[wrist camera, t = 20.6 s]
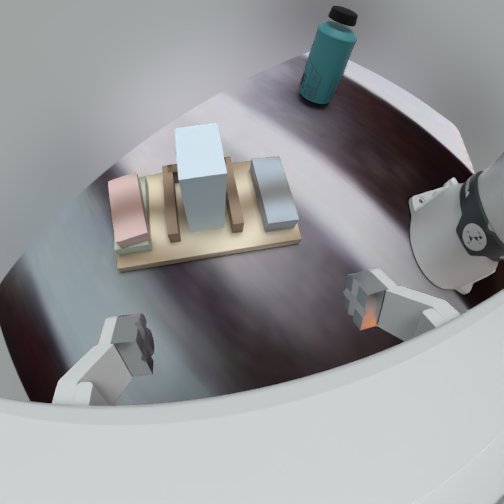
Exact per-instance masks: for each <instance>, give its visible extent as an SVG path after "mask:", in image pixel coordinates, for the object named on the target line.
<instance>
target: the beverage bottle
mask: <svg viewBox="0 0 504 504" xmlns="http://www.w3.org/2000/svg"><path fill="white" fill-rule="evenodd" d="M357 16H358V15H357V14H356V13H355V12H353V11H351V10H349V9H347V8H344V7H340V6H333V7H332V9H331V11H330V13H329V17H330V18H331V19H333V20H334V21H336V22H333V21H328V22H324V23H321V24H319V25H318V28H317V32H316V36H315V39H314V42H313V45H312V48H311V51H310V55H309V58H308V61H307V64H306V68H304V69H305V71H303V72H304V74H303V77H302V79H301V82H300V83H301V84H300V88H299V89H300V93H301V94H302V96H303V97H305V98H306V99H307V100H309V101H311V102H314V103H318V104H326V103H329V102H330V101H331V100H332V99H333V96H334V94H335V92H336V89H337V87H338V84H339V82H340V80H341V77H343V76H342V75H344V74H343V73H344V70H345V67H346V65H347V62H348V60H349V57H350V55H351V52H352V50H353V47H354V45H355V43H356V41H357V37H356V35H355V34H354V32H353V31H352V30H351V29H350V28H348V27H347V26H345V25H348V26H355V24H356V20H357ZM337 22H338V23H337ZM343 24H344V25H343Z"/></svg>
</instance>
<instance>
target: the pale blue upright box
mask: <svg viewBox="0 0 504 504" xmlns="http://www.w3.org/2000/svg"><path fill="white" fill-rule="evenodd" d="M175 141H176V156H177V169H178V180H179V185H180V190H181V194H182V199H183V203H184V208H185V212H186V217H187V221H188V225H189V230H190V233H192V232H198V231H204V230H211V229H217V228H224V220H225V202H226V185H227V170H226V165H225V160H224V155H223V150H222V144H221V139H220V134H219V129H218V124H217V123H214V124H205V125H197V126H189V127H182V128H176V129H175Z"/></svg>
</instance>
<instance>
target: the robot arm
mask: <svg viewBox="0 0 504 504" xmlns="http://www.w3.org/2000/svg"><path fill="white" fill-rule="evenodd" d="M409 208H410V212H411V224H410V240H411V245H412V249H413V253H414V256H415V258H416V260H417V263H418V265H419V266H420V268H421V270H422V271H423V273H424V274H425V275H426V277H427V278H428V279H429V280H430V281H431V282H432V283H434V284H435V285H436V286H438V287H440V288H443V289H455V290H457V291H458V292H460V293H461V294H464V295H465V294H467V293H469V292H470V291H471V288H472V286H473V283H474V282H476V281H479V280H481V279H483V278H485V277H487V276H489V275H490V274H492V273H494V272H495V271H496V267H497V265H498V261H501V260H503V259H504V153H503V154H502V155H501V156H500V157H499V158H498V159H497V160H496V161H495V162H494V163H493V164H492V165H491V166H489V167H488V168H487V169H486V170H485V171H480V172H478V173H476V174H474V175H472V176H471V177H470V178H469V179H468V180H467V181H466V182H465V183H461V184H458V182H457V180H456V179H455V178H452V179H450V180H449V181H448V182H446V183H445V184H444V185H443V187H441V188H438V189H435V190H432V191H428V192H425V193H422V194H419V195H415V196H413V197H412V198H410V199H409ZM344 285H345V286H346V289H345V290H344V292H343V296H342V301H343V306H344V308H345V310H346V312H347V313H348V314H350V315H352V316H354V317H353V321H354V323H355V324H356V325H357V327H358V328H359V329H360V330H363V329H367V328H370V327H373V326H378V327H380V328H381V329H383V330H385V331H387V332H389V333H391V334H392V335H394V336H396V337H398V338H400V339H401V340H403V341H405V342H403V343H401V344H398V345H396V346H394V347H391V348H389V349H386V350H384V351H381V352H379V353H376V354H373V355H371V356H368V357H365V358H363V359H360V360H357V361H354V362H351V363H348V364H345V365H342V366H339V367H336V368H333V369H330V370H327V371H323V372H320V373H317V374H313V375H310V376H306V377H303V378H299V379H295V380H292V381H288V382H284V383H280V384H276V385H271V386H267V387H262V388H258V389H253V390H248V391H243V392H238V393H233V394H227V395H221V396H215V397H209V398H202V399H194V400H186V401H177V402H168V403H156V404H141V405H117V406H114V405H115V404H116V402H117V401H118V399H119V397H120V396H121V394H122V393H123V391H124V390H125V388H126V387H127V386H128V384H129V383H130V381H131V380H132V378H133V376H142V375H150V374H153V359H152V357H151V356H152V354H153V353H154V341H153V337H152V334H151V331H150V330H149V329H148V328H147V327H146V322H147V321H146V319H145V317H144V315H143V314H142V313H140V314H131V315H122V316H114V317H108V318H106V320H105V323H104V326H103V330H102V333H101V336H100V340H99V343H98V345H97V346H94V347H93V348H92V349H91V350H90V351H89V352H88V353H87V354H86V355H84V356H83V357H82V358H81V359H80V360H79V361H78V362H77V363H76V364H75V365H74V366H73V367H72V368H71V369H70V370H69V371H68V372H67V373H66V374H65V375H64V376H63V377H62V378H61V379H60V380H59V381H58V384H57V387H56V391H55V394H54V398H53V401H52V404H50V403H39V402H30V401H22V400H15V399H9V398H3V397H0V504H504V289H503V290H501V291H499V292H498V293H496V294H495V295H493V296H492V297H490V298H489V299H487V300H485V301H484V302H482V303H480V304H479V305H477V306H475V307H473V308H472V309H470V310H468V311H466V312H464V313H463V314H460V313H459V312H457V311H456V310H455V309H454V308H453V307H452V306H451V305H450V304H449V303H448V302H447V301H445V300H443V299H440V298H437V297H434V296H431V295H428V294H425V293H422V292H419V291H416V290H413V289H410V288H407V287H404V286H397V285H396V284H395V283H394V282H393V281H392V280H391V279H390V278H389V277H388V276H387V275H386V274H384V273H383V272H382V271H381V270H380V269H379V268H372V269H369V270H366V271H363V272H359V273H354V274H350V275H346V277H345V279H344Z"/></svg>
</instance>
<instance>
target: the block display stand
mask: <svg viewBox="0 0 504 504" xmlns="http://www.w3.org/2000/svg"><path fill="white" fill-rule="evenodd" d="M224 160H225V165H226V170H227V185H226V202H225V220H224V228H217V229H211V230H204V231H198V232H192V233H190V230H189V225H188V221H187V217H186V212H185V208H184V203H183V199H182V194H181V190H180V185H179V180H178V169H177V164H172V165H166V166H162V170H163V173H160V174H154V175H149V176H144V177H138V175H137V173H136V172H135V173H132V174H129V175H125V176H123V177H120V178H117V179H114V180H111V181H108V187H109V196H110V205H111V213H112V220H113V227H114V241H115V251H116V253H117V269H118V270H119V271H121V272H126V271H132V270H138V269H144V268H150V267H156V266H162V265H168V264H174V263H181V262H187V261H193V260H199V259H205V258H211V257H217V256H223V255H230V254H236V253H242V252H248V251H254V250H260V249H266V248H273V247H279V246H285V245H291V244H297V243H299V242H300V240H301V235H300V232H299V228H298V225H297V222H298V220H299V217H298V214H297V210H296V207H295V204H294V201H293V197H292V194H291V191H290V188H289V184H288V181H287V178H286V175H285V172H284V169H283V166H282V163H281V160H280V157H266V158H254V159H252V160H251V161H246V162H236V163H231V159H230V157H224Z"/></svg>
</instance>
